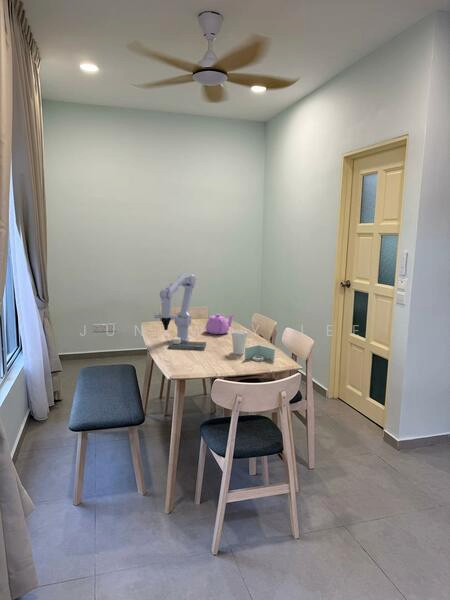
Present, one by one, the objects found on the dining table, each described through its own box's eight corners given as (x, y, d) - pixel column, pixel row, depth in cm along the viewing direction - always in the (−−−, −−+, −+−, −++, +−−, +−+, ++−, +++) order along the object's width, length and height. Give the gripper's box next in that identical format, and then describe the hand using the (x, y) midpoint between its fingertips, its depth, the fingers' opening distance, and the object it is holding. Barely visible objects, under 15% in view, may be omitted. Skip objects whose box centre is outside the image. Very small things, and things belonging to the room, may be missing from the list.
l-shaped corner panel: (244, 360, 235) (245, 347, 234) (258, 356, 244) (258, 344, 243) (260, 365, 227) (261, 352, 226) (274, 361, 235) (274, 348, 234)
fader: (174, 341, 261) (174, 337, 260) (180, 342, 260) (180, 337, 260) (173, 343, 256) (173, 339, 255) (179, 344, 256) (179, 339, 255)
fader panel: (172, 343, 264) (172, 340, 264) (206, 345, 264) (206, 342, 263) (168, 348, 253) (168, 345, 252) (204, 350, 252) (204, 346, 252)
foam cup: (232, 354, 244) (233, 333, 242) (229, 350, 253) (230, 330, 251) (247, 354, 246) (248, 333, 244) (244, 350, 255) (245, 329, 253)
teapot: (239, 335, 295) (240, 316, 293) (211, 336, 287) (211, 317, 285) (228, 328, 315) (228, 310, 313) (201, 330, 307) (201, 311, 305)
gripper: (153, 309, 251) (153, 330, 253) (176, 310, 251) (176, 331, 253) (155, 307, 258) (155, 328, 260) (178, 308, 258) (178, 329, 260)
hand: (165, 329), depth 257 cm, fingers closed
